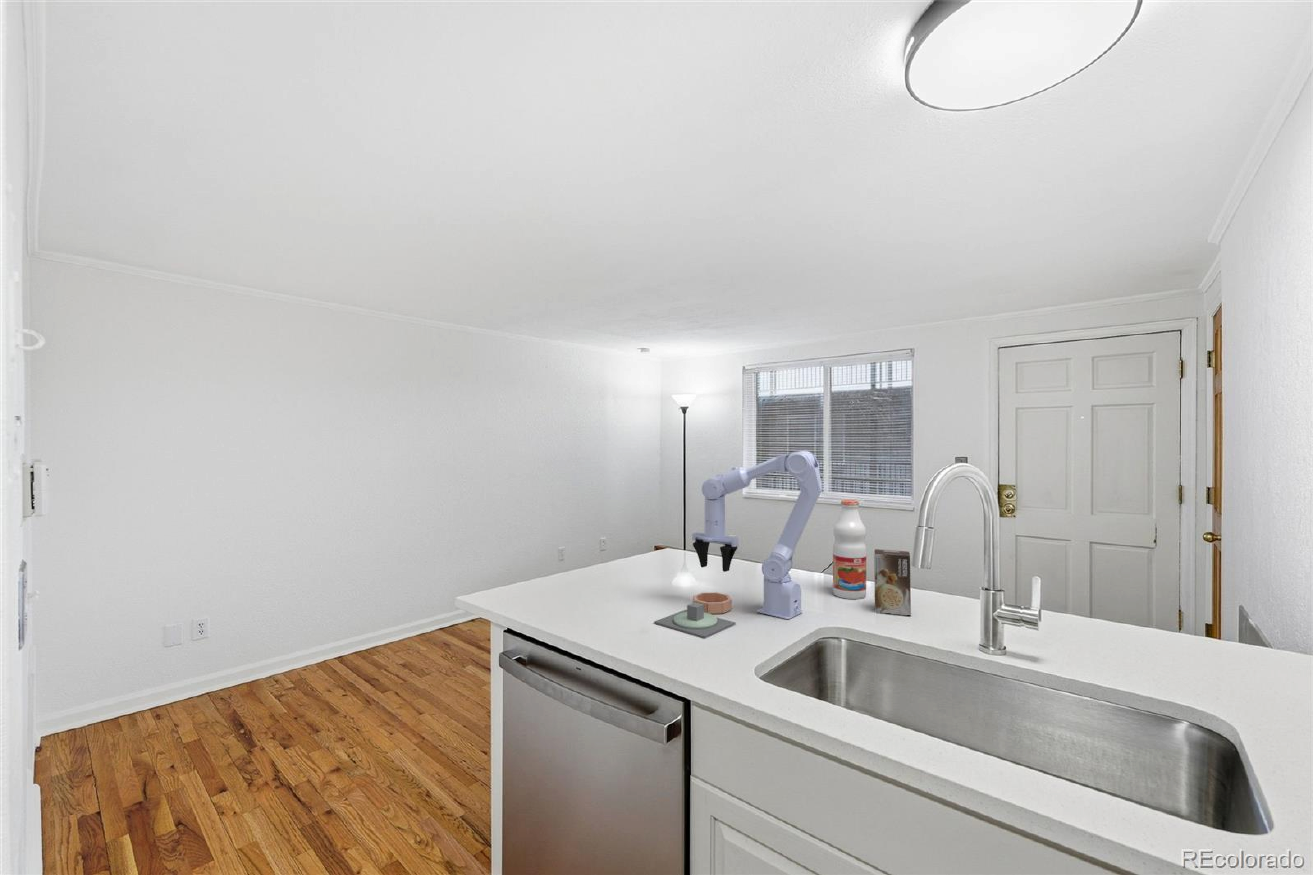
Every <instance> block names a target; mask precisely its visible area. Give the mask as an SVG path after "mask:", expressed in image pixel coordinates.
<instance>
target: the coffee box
mask: <svg viewBox="0 0 1313 875" xmlns="http://www.w3.org/2000/svg"><path fill="white" fill-rule="evenodd" d="M873 557H874V558H873V559H874V561H873V562H874V565H873V566H874V613H875V612H882V613H881V614H884V613H891V614H890V615H893V614H903V615H911V616H912V604H911V601H912V600H911V599H912V598H911V597H912V596H911V594H912V591H911V589H912V588H911V584H912V583H911V553H910V551H905V550H893V549H890V550H889V549H878V548H877V549H874V556H873ZM903 615H902V616H903Z"/></svg>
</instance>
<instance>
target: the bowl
mask: <svg viewBox="0 0 1313 875" xmlns="http://www.w3.org/2000/svg"><path fill="white" fill-rule="evenodd" d="M732 601H733V600H732V597H731V596H730V595H729V594H725V593H722V592H721V593H720V592H717V591H716V592H700V593H698V594H695V595H693V596H692V603H694V602H695V603H699V604H703V605H704V612H705V613H709V614H712V615H720V614H724V613H727V612H730V611H731V610H732V609H733V608H732V607H733V605H732V604H733V602H732Z"/></svg>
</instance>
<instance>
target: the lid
mask: <svg viewBox="0 0 1313 875" xmlns="http://www.w3.org/2000/svg"><path fill="white" fill-rule="evenodd" d="M686 610H687V612H684V613H680V614H677V615H676V616H675V617H674V623H675V624H676V625H677V626H680V627H683V628H688V629H706V628H710V627H713V626H715V625H716V624H717V618H718V617H717V616H716V615H715V614H709V613H705V612H704V605H703V604H699V603H695V602H694V603H693V602H692V603H689V604H687V605H686Z"/></svg>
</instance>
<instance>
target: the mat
mask: <svg viewBox="0 0 1313 875" xmlns="http://www.w3.org/2000/svg"><path fill="white" fill-rule="evenodd" d="M684 612H687V609H684V610H681V611H678V612H675V613H672V614H670V615H668V616H664V617H663V618H659V619H658V620H654V621H653V624H655V625H657V626H661V627H666V628H668V629H672V630H674V631H679V632H682V633H685V634H688V635H691V636H695V637H698V638H701V639H702V638H703V639H707V638H709V637H711V636H713V635H716V634H718V633H720V632H722V631H724V630H728V628H731V627H733V626H735V625H736V622H735V621H731V620H728V619H724V618H722V617H721V618H720V617H717V624H716V625H715V626H713V627H710V628H706V629H688V628H683V627H680V626H677V625H676V624H675V623H674V617H675V616H676V615H677V614H680V613H684Z"/></svg>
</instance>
